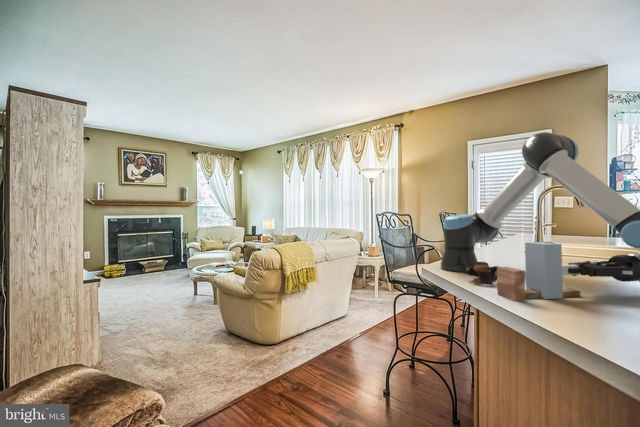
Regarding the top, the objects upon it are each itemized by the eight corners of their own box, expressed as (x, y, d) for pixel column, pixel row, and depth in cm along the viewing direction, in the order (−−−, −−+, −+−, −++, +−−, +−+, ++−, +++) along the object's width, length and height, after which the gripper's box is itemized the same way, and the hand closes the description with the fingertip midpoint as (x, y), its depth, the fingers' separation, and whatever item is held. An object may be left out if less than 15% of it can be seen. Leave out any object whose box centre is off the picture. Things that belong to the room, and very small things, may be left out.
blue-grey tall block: (545, 299, 82) (544, 244, 83) (526, 292, 89) (525, 242, 90) (562, 298, 83) (561, 244, 83) (542, 292, 90) (541, 242, 90)
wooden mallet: (514, 301, 82) (513, 271, 82) (497, 294, 89) (496, 267, 89) (587, 298, 83) (586, 268, 83) (565, 291, 90) (564, 265, 90)
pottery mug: (465, 286, 102) (460, 263, 106) (471, 293, 109) (466, 271, 113) (505, 280, 96) (498, 256, 100) (509, 288, 103) (502, 265, 107)
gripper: (658, 286, 81) (576, 289, 79) (608, 276, 94) (536, 279, 92) (658, 257, 81) (575, 260, 79) (608, 252, 94) (536, 254, 92)
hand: (554, 270), depth 86 cm, fingers closed
